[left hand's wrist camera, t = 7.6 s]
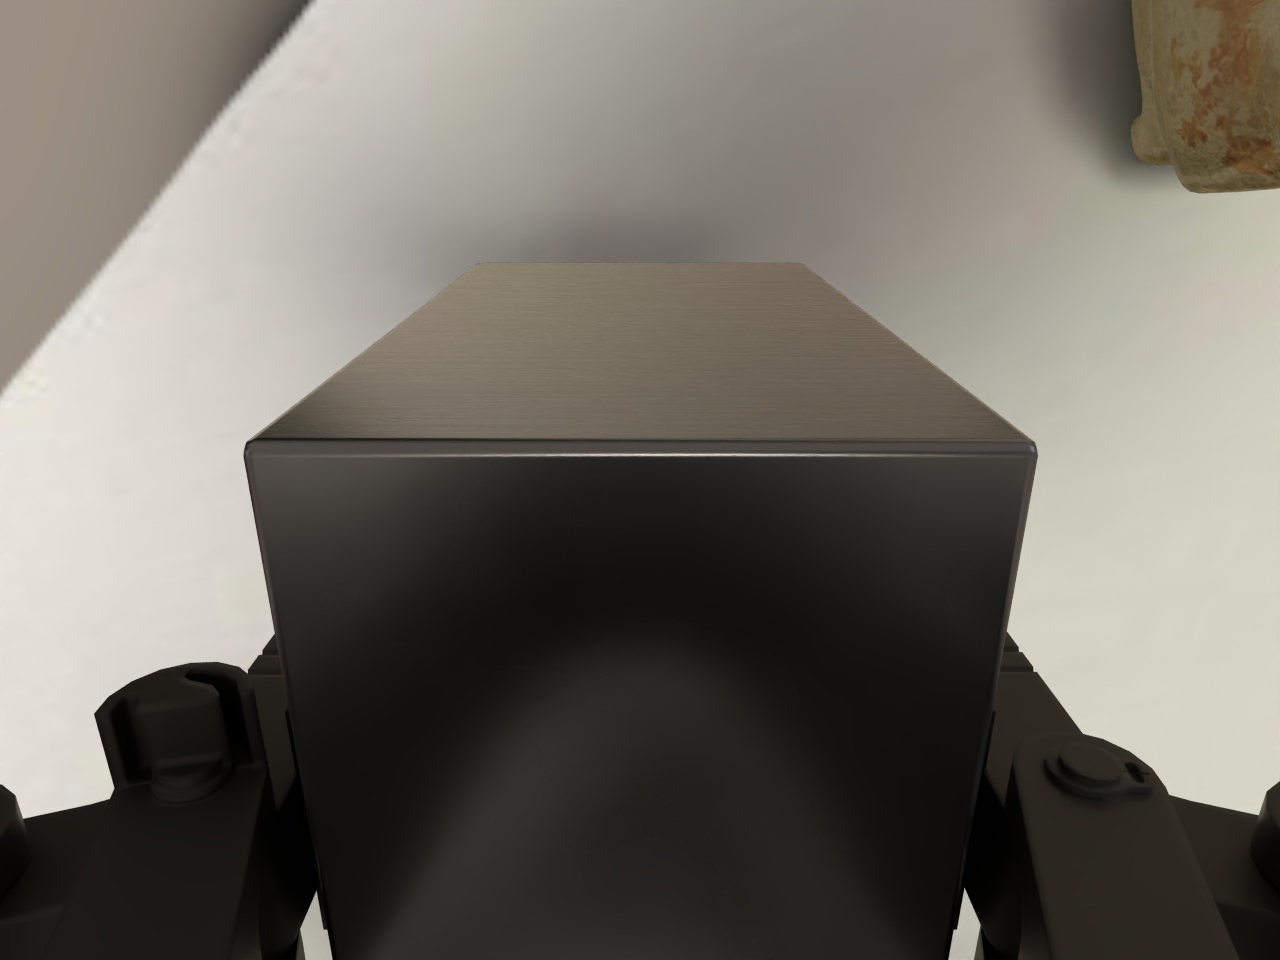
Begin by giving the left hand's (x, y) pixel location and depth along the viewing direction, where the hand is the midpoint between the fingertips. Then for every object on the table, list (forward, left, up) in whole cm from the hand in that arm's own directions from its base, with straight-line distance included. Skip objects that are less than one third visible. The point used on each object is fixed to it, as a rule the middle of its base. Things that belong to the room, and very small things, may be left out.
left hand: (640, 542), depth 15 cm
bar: (+6, +6, -1) cm, 9 cm away
